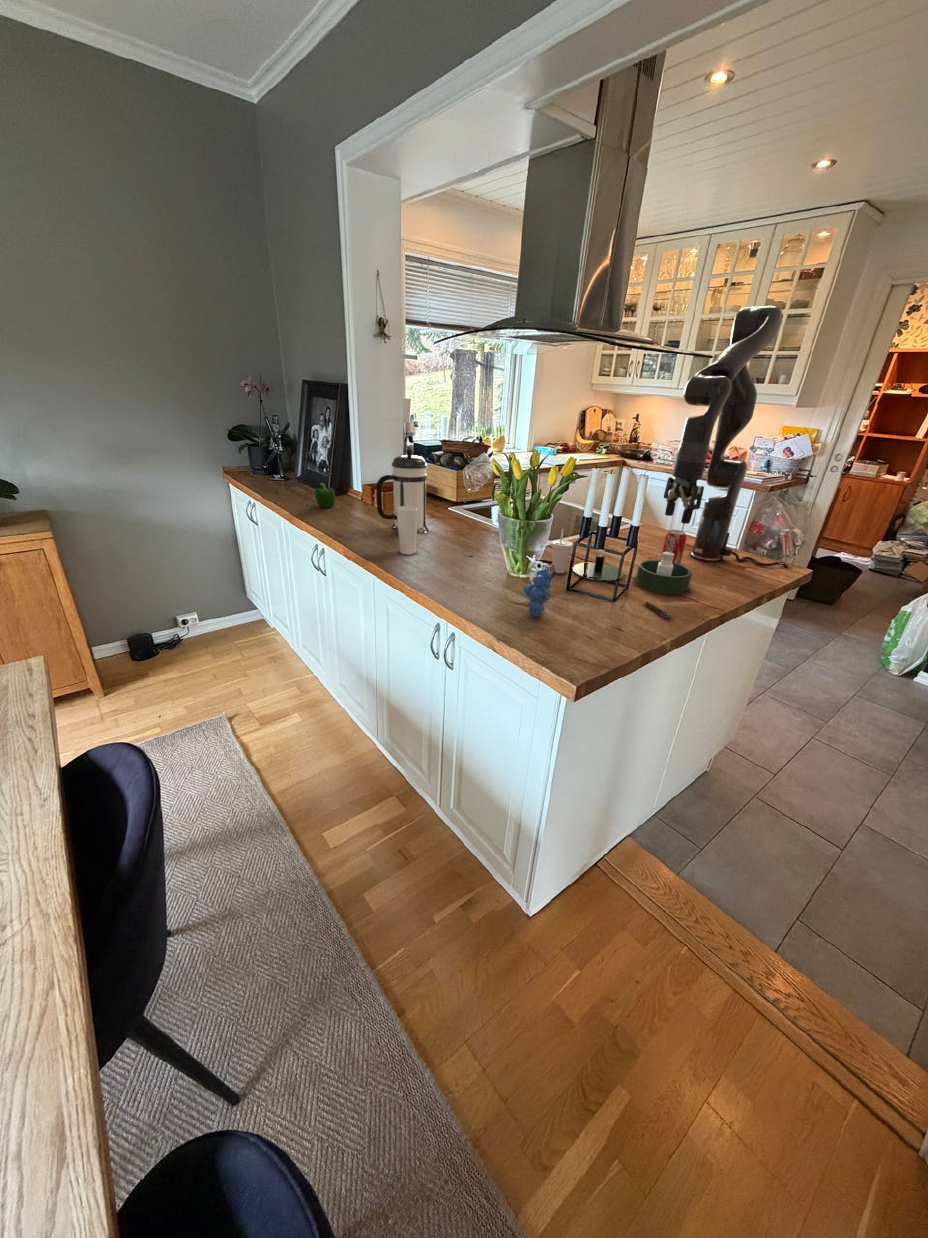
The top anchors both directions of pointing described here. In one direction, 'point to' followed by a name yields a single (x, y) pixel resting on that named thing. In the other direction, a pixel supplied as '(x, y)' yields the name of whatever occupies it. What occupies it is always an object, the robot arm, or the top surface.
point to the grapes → (538, 592)
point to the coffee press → (406, 487)
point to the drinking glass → (407, 528)
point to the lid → (598, 570)
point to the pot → (663, 577)
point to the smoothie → (561, 553)
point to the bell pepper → (325, 496)
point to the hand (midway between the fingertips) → (676, 519)
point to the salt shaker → (665, 564)
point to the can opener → (657, 610)
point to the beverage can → (675, 544)
